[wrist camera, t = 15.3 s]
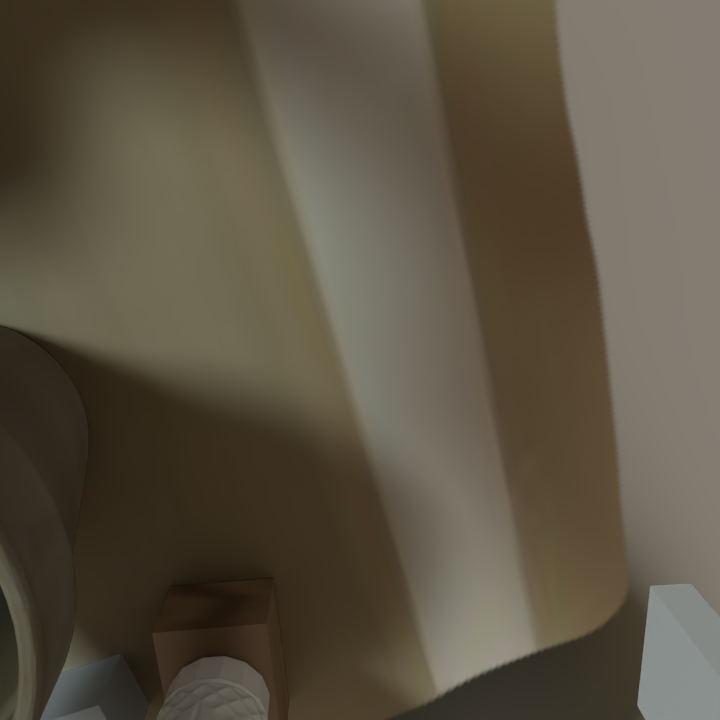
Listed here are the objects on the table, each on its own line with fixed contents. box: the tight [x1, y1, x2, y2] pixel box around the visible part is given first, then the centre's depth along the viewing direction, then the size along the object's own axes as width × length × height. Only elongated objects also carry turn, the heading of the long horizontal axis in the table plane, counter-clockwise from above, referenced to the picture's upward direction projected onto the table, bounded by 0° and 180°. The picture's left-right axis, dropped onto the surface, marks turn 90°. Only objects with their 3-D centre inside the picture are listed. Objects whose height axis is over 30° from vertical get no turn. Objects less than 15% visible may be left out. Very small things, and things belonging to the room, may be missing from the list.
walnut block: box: [152, 578, 289, 720], centre depth 47 cm, size 8×11×5 cm
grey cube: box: [40, 653, 149, 720], centre depth 48 cm, size 5×5×5 cm
